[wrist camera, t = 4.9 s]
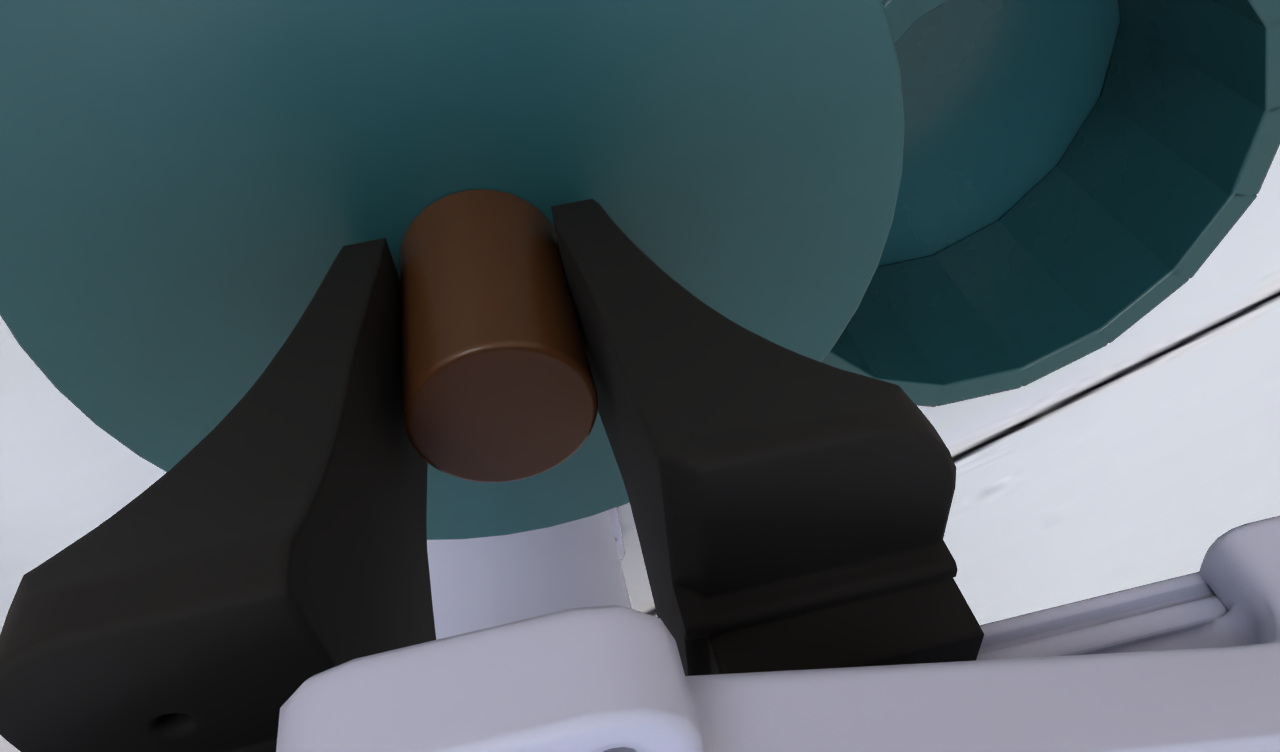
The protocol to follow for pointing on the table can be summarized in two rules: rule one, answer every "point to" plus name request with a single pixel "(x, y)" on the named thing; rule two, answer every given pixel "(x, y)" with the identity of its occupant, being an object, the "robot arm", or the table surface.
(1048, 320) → the pot
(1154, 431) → the table surface
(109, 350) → the lid
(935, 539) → the robot arm
